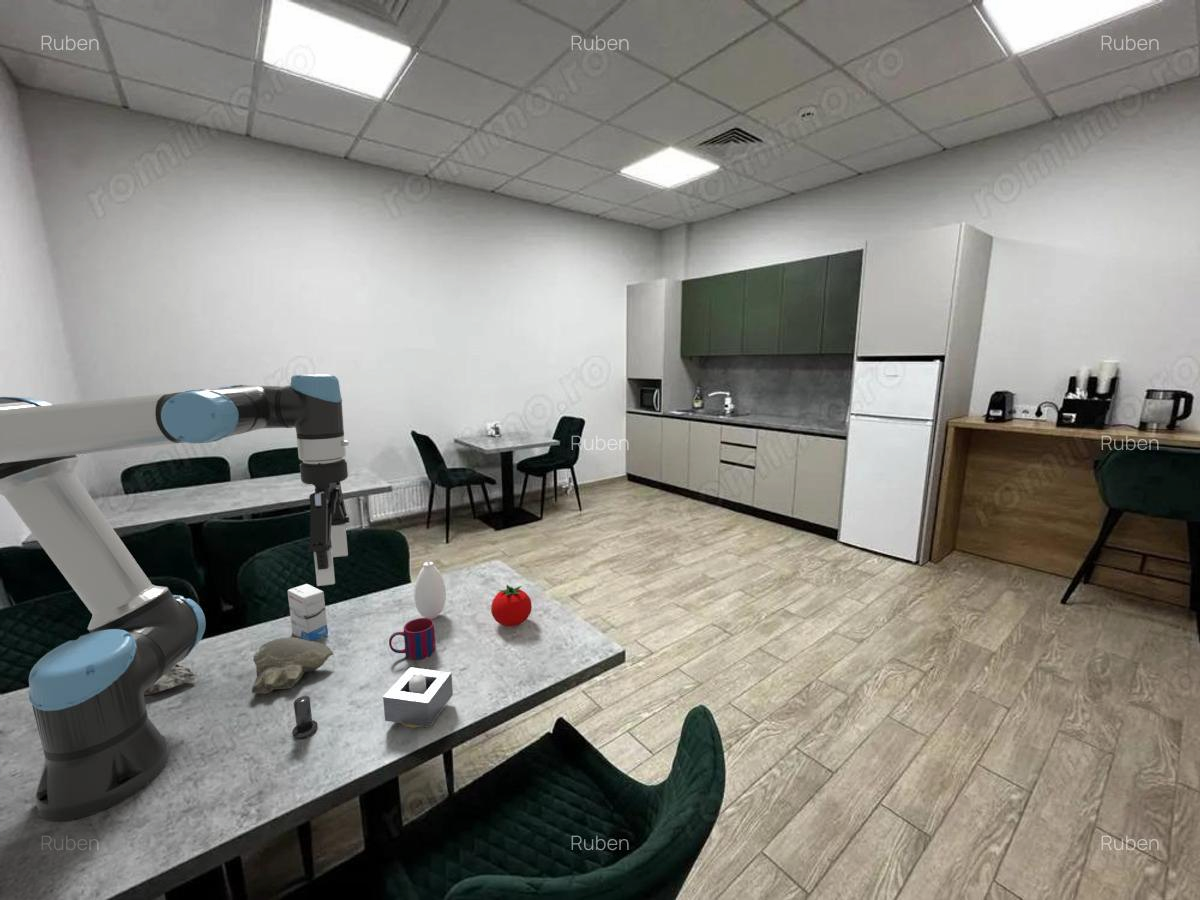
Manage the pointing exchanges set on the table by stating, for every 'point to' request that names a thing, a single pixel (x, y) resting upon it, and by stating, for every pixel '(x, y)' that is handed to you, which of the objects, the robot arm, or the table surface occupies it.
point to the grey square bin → (418, 698)
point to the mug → (417, 639)
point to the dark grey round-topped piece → (303, 718)
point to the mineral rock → (171, 679)
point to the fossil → (286, 662)
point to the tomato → (511, 606)
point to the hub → (417, 688)
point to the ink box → (307, 612)
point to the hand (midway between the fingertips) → (333, 569)
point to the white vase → (429, 591)
